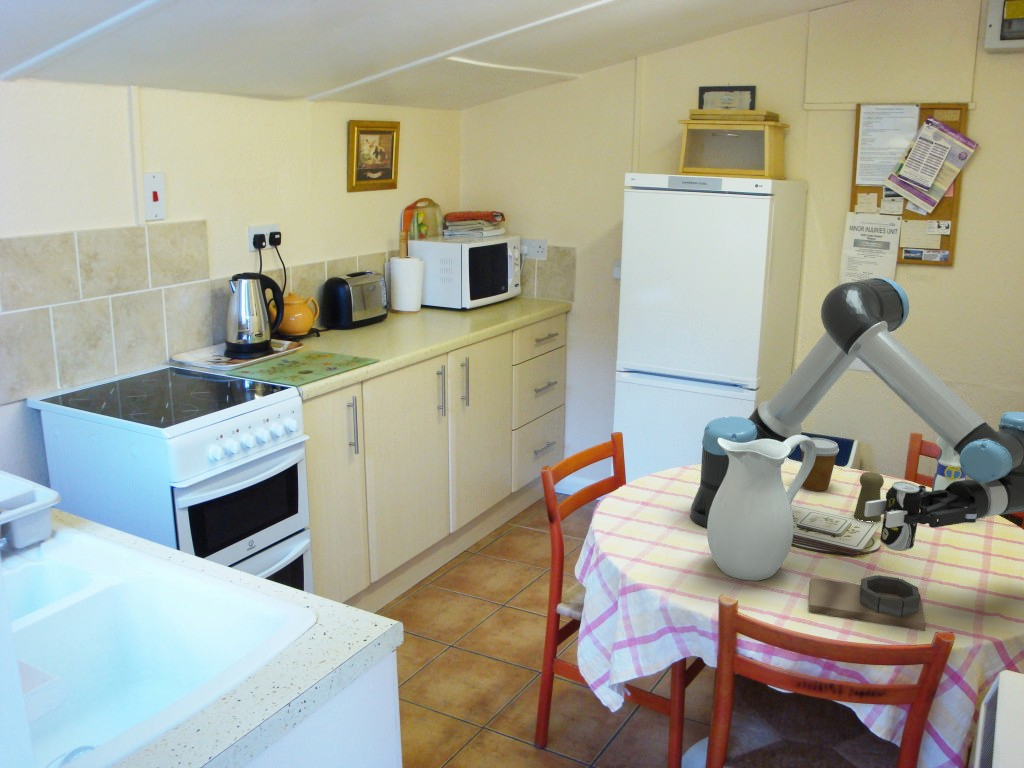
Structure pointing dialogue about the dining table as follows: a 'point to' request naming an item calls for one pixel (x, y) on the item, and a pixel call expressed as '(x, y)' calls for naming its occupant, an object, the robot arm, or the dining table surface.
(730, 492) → the pitcher
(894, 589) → the socket plate
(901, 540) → the beverage can
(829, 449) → the disposable coffee cup
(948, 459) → the white tall figurine
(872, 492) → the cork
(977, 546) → the dining table surface
